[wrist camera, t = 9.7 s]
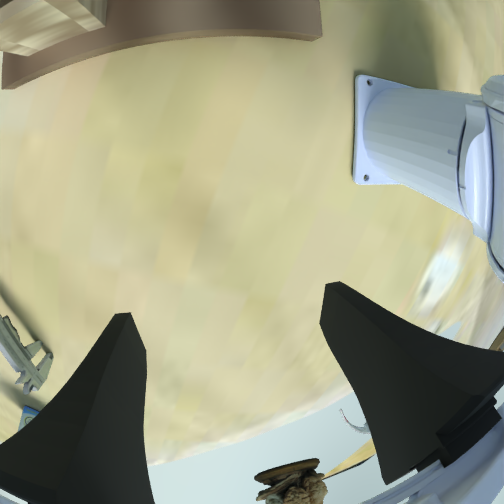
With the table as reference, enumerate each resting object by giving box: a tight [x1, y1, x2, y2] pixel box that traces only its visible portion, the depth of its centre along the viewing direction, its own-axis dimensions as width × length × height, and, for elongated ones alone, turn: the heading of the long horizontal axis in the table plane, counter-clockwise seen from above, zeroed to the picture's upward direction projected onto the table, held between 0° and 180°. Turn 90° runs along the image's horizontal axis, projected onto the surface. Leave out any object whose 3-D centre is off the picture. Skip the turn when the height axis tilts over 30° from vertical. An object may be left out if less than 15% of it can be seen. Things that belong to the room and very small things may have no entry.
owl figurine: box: [254, 458, 328, 504], centre depth 44 cm, size 18×12×17 cm, turn 98°
